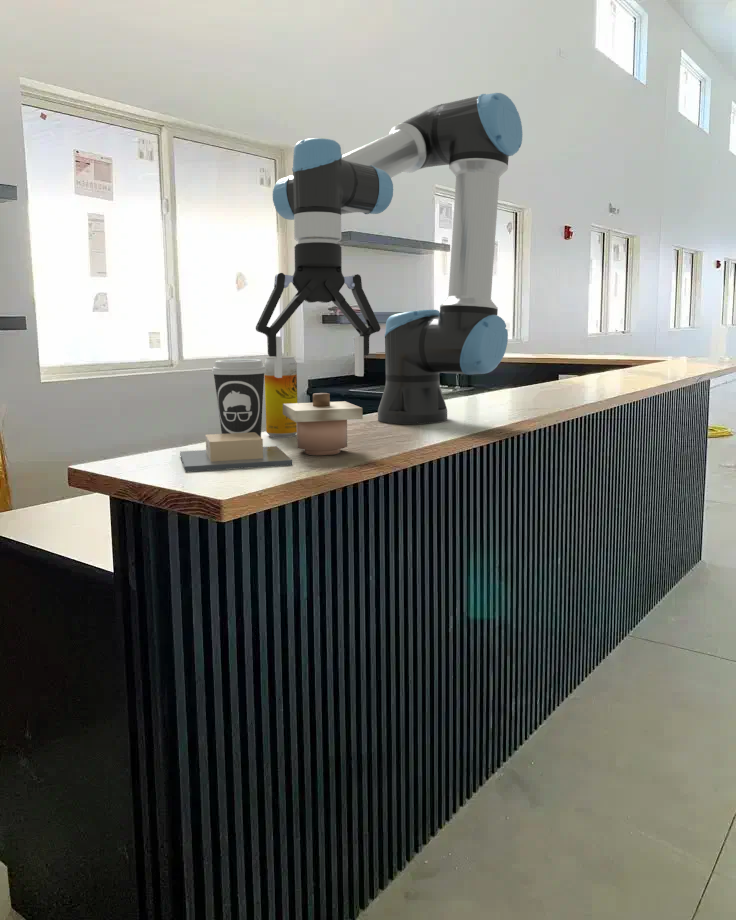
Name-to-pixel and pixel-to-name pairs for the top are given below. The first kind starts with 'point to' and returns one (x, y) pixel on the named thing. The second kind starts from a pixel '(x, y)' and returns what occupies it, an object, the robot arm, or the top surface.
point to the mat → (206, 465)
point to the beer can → (280, 397)
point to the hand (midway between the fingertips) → (319, 376)
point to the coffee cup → (239, 394)
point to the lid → (322, 410)
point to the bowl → (322, 437)
